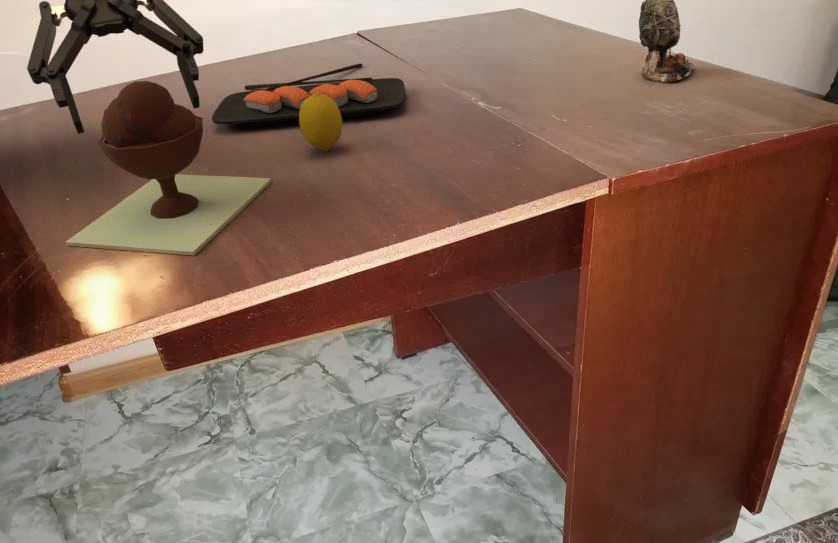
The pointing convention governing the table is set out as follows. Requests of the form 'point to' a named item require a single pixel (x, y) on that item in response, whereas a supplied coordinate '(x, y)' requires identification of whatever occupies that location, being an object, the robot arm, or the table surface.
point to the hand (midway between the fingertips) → (139, 115)
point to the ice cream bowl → (153, 141)
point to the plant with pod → (662, 41)
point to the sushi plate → (286, 99)
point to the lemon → (320, 121)
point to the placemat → (178, 235)
